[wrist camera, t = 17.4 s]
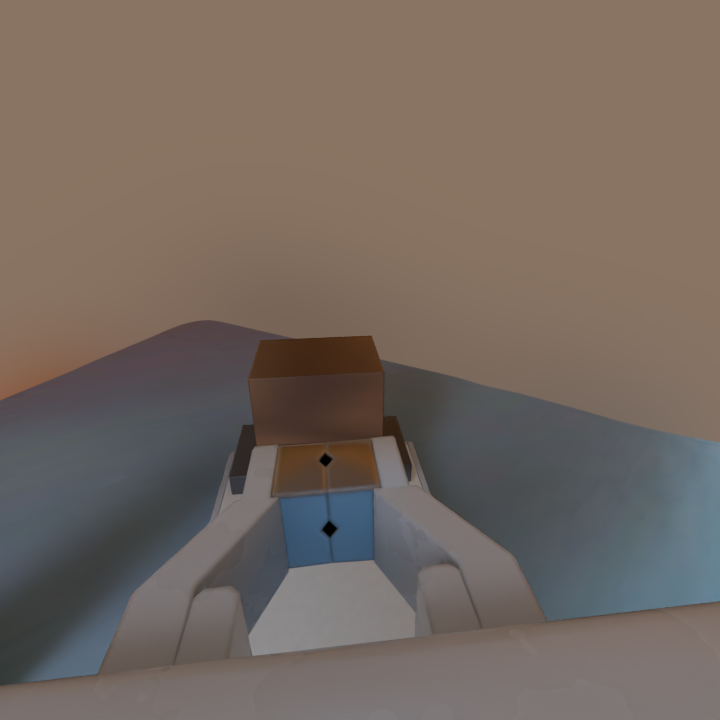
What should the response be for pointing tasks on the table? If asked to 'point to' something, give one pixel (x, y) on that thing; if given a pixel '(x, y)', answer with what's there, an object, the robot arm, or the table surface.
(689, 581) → the table surface
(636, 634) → the robot arm
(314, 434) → the eraser
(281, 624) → the whiteboard
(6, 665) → the table surface
